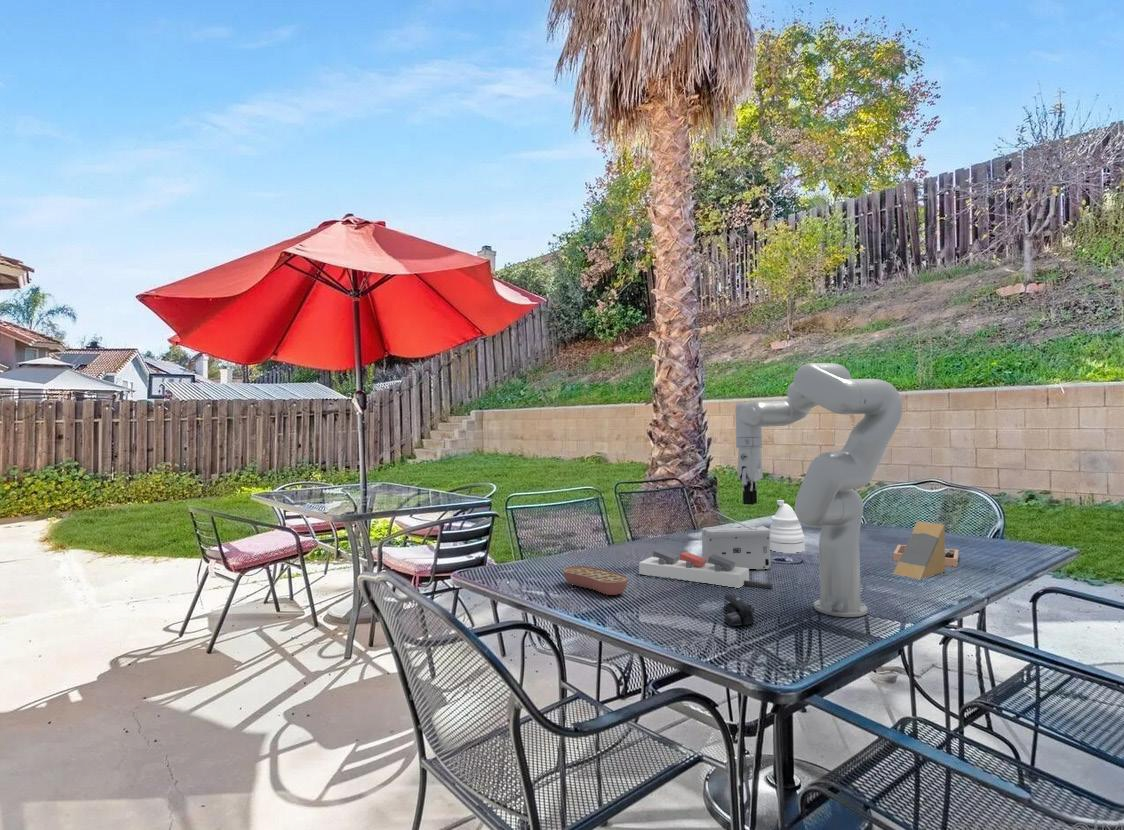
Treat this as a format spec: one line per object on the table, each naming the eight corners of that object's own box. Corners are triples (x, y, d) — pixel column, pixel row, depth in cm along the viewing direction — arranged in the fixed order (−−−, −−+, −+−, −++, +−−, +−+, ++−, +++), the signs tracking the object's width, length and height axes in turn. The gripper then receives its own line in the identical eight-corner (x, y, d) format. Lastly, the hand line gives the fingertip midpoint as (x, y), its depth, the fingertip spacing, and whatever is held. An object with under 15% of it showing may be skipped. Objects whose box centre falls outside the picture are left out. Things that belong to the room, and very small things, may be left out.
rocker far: (672, 565, 198) (673, 559, 198) (652, 556, 202) (653, 551, 201) (677, 562, 202) (679, 556, 201) (658, 554, 205) (659, 548, 205)
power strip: (767, 592, 180) (767, 572, 180) (639, 575, 202) (638, 557, 202) (776, 585, 188) (775, 565, 188) (651, 569, 209) (651, 551, 209)
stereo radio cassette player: (764, 564, 212) (763, 504, 212) (773, 570, 204) (772, 508, 204) (701, 566, 211) (700, 506, 211) (708, 572, 203) (706, 510, 203)
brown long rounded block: (557, 586, 193) (556, 569, 192) (581, 579, 199) (580, 563, 199) (612, 602, 175) (611, 584, 175) (636, 594, 182) (636, 577, 182)
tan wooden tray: (957, 567, 203) (957, 559, 203) (893, 560, 213) (893, 553, 213) (958, 557, 216) (958, 549, 216) (898, 551, 225) (898, 544, 225)
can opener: (759, 630, 151) (758, 606, 151) (729, 630, 152) (728, 606, 152) (742, 606, 169) (742, 585, 169) (715, 606, 170) (715, 585, 169)
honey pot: (779, 554, 226) (778, 503, 225) (761, 547, 238) (760, 498, 238) (812, 552, 228) (811, 501, 228) (792, 544, 241) (791, 496, 241)
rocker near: (729, 572, 188) (731, 565, 188) (707, 563, 192) (708, 557, 192) (734, 568, 192) (735, 562, 192) (712, 560, 196) (713, 554, 195)
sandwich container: (890, 575, 196) (890, 526, 196) (917, 567, 204) (916, 520, 204) (919, 581, 189) (918, 530, 189) (945, 573, 197) (944, 524, 197)
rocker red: (700, 568, 193) (701, 562, 193) (678, 560, 197) (680, 554, 197) (705, 565, 197) (706, 559, 197) (684, 557, 201) (685, 551, 200)
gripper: (753, 444, 185) (754, 508, 185) (768, 441, 198) (769, 501, 198) (728, 444, 189) (729, 506, 189) (744, 441, 202) (745, 499, 202)
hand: (750, 503), depth 194 cm, fingers closed
